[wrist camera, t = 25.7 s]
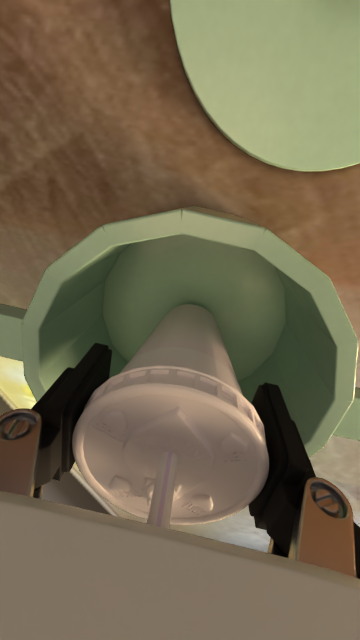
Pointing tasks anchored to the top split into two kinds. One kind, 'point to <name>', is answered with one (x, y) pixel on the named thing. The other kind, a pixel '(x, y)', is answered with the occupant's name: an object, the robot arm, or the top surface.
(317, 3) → the lid
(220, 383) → the smoothie
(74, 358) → the pot
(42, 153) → the top surface
